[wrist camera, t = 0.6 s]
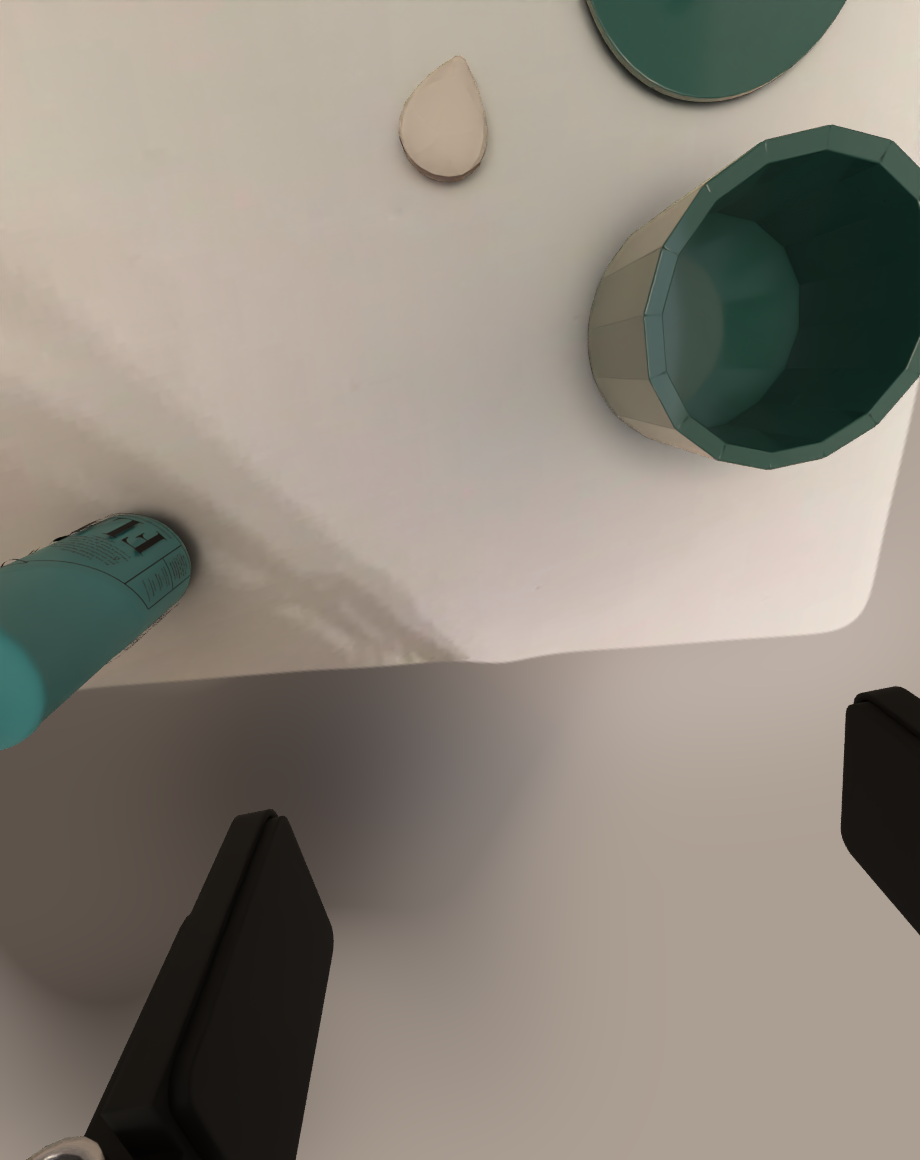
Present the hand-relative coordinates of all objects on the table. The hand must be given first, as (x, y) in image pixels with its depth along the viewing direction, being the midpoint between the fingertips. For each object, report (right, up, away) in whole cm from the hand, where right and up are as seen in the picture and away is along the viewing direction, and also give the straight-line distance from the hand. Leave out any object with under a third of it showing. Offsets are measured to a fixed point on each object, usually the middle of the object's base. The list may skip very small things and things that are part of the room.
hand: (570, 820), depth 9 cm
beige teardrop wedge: (-3, +27, +19) cm, 33 cm away
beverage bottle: (-21, +6, +26) cm, 34 cm away
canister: (+12, +18, +23) cm, 31 cm away
